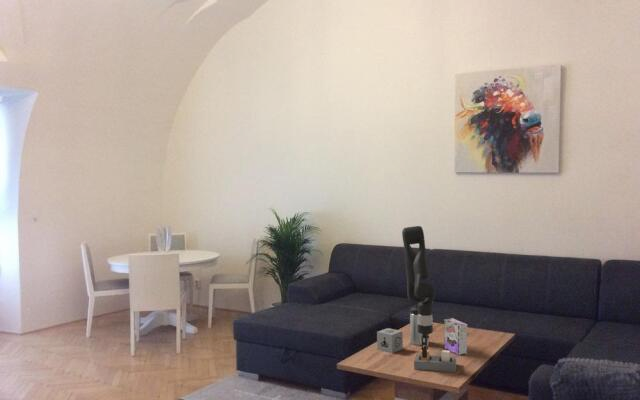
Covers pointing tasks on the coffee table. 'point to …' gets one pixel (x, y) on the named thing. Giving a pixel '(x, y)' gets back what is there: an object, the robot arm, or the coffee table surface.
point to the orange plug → (427, 355)
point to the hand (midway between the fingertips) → (425, 355)
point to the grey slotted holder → (436, 362)
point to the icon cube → (390, 340)
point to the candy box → (455, 336)
